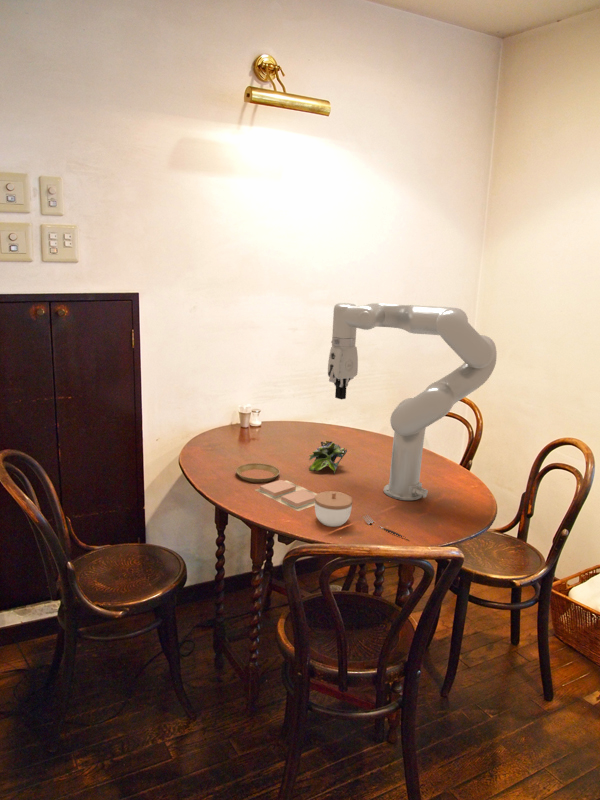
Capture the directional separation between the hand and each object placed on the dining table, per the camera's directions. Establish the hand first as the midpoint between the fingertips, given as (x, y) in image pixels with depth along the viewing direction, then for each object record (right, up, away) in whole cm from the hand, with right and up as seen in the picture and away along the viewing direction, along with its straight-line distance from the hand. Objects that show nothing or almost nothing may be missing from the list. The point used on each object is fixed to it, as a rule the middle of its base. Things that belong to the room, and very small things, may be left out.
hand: (340, 398), depth 202 cm
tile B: (-17, -28, -3) cm, 33 cm away
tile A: (-10, -30, -9) cm, 33 cm away
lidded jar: (-4, -36, -25) cm, 44 cm away
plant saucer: (-28, -27, +7) cm, 39 cm away
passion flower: (-3, -26, +16) cm, 31 cm away
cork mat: (-16, -31, -8) cm, 36 cm away
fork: (+11, -38, -27) cm, 48 cm away
